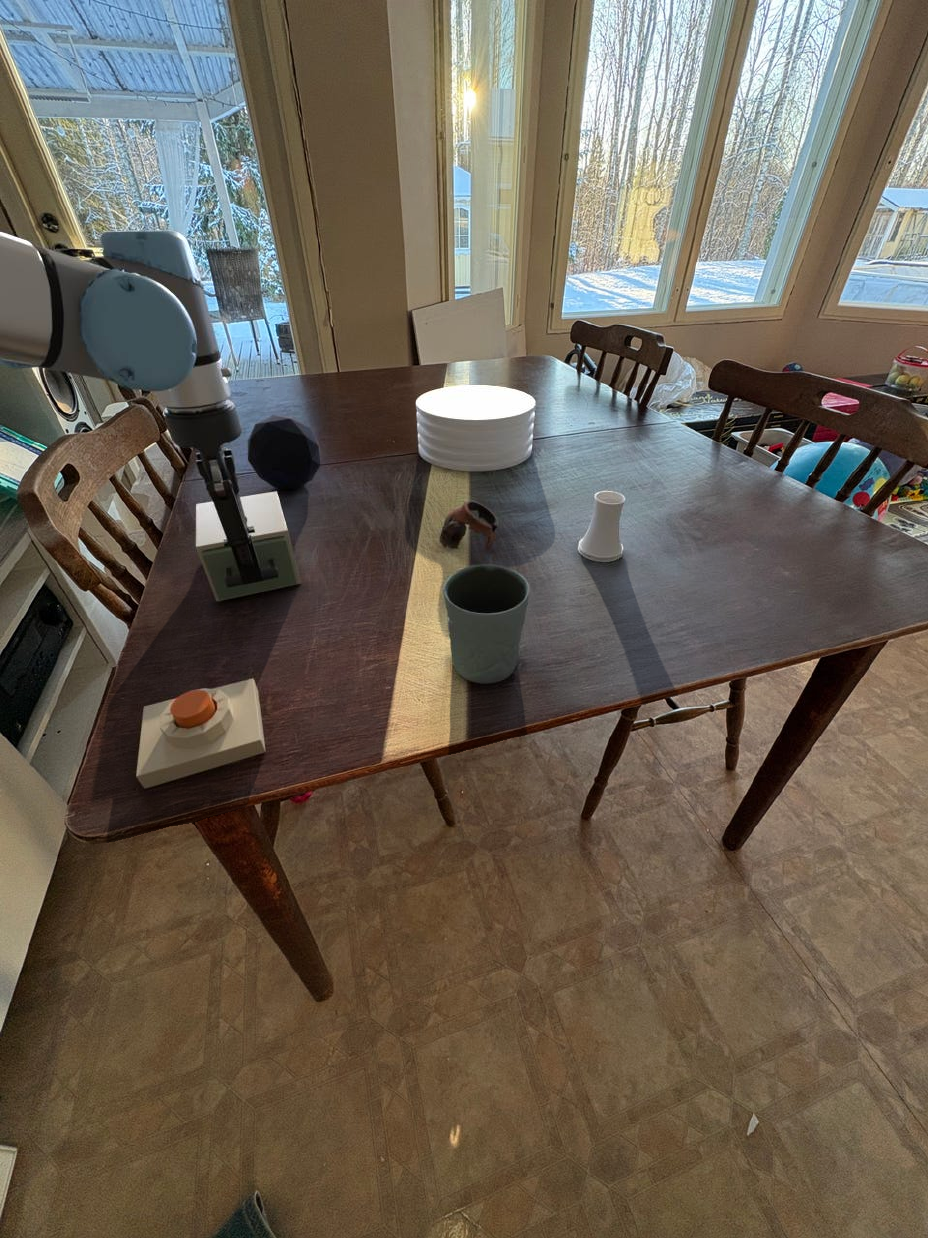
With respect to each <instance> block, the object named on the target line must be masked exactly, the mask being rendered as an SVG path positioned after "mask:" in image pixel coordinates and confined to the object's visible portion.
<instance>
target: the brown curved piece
mask: <svg viewBox="0 0 928 1238" xmlns="http://www.w3.org/2000/svg"><path fill="white" fill-rule="evenodd" d="M474 511H477V513H478V518H479V519H478V518H477V517H476V516H474V515H473V513H472V512H474ZM481 519H483V520H484V521H485V522H486V523H485V522H483V521H482V520H481ZM499 525H500V523H499V519H498V518H497V516H496V515H495V513H493V511H491V510H490V509H489V508H488V507H486V506H485V505H484V504H482V503H480V502H478V501H475V500H465V501H464V502H463V504H462V505H460V506H459V505H458V506H456V507H455V508H452V510H451V511H450V512H448V514H447V515H446V518H445V520H444V523H443V526H442V528H441V531H440V535H439V543H440V544H441V546H442V548H445V549H446V547H448V548H449V549H452V550H457V549H458V547H459V545H460V543H461V541H462V540H463V538H464V537H465V535H466V532H467V530H468V529H469V530H470V531H473V532H475V533H477V534H481V535H482V536H484V537H487V541H486V544H485V547H484V548H485V549H486V550H489V549H491V548H492V546H493V545H494V542H495V541H496V539H497V538H496V537H497V529H498V528H499ZM467 527H468V528H467Z"/></svg>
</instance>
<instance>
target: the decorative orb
mask: <svg viewBox="0 0 928 1238" xmlns="http://www.w3.org/2000/svg"><path fill="white" fill-rule="evenodd" d="M247 462H248V463H249V464H250V466H251V467H252V469H253V470H254V472H255V473H256V475H257V476H258V477H259V479H261V481H264V482H265V483H267V484H269V485H270V486H271V487H273V488H274V489H285V490H286V489H287V490H297V489H298V488H300V487H303V486H305V485H306V484H308V483H309V482H311V481H312V480H313V479H314V478H315V476H316V474H317V472H319V469H320V467H321V465H322V464H321V446H320V444H319V442H318V440H317V438H316V436H315V434H314V432H313V430H312V428H311V427H310V426H308V425H307V424H305V423H303V422H302V421H300V420H299V419H297V418H296V417H293V416H285V415H276V414H272V415H270V416H269V417H267V418H264V419H263V420H261V421H259V422H257V423H255V424H254V426H253V428H252V430H251V433H250V435H249V437H248V439H247Z"/></svg>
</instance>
